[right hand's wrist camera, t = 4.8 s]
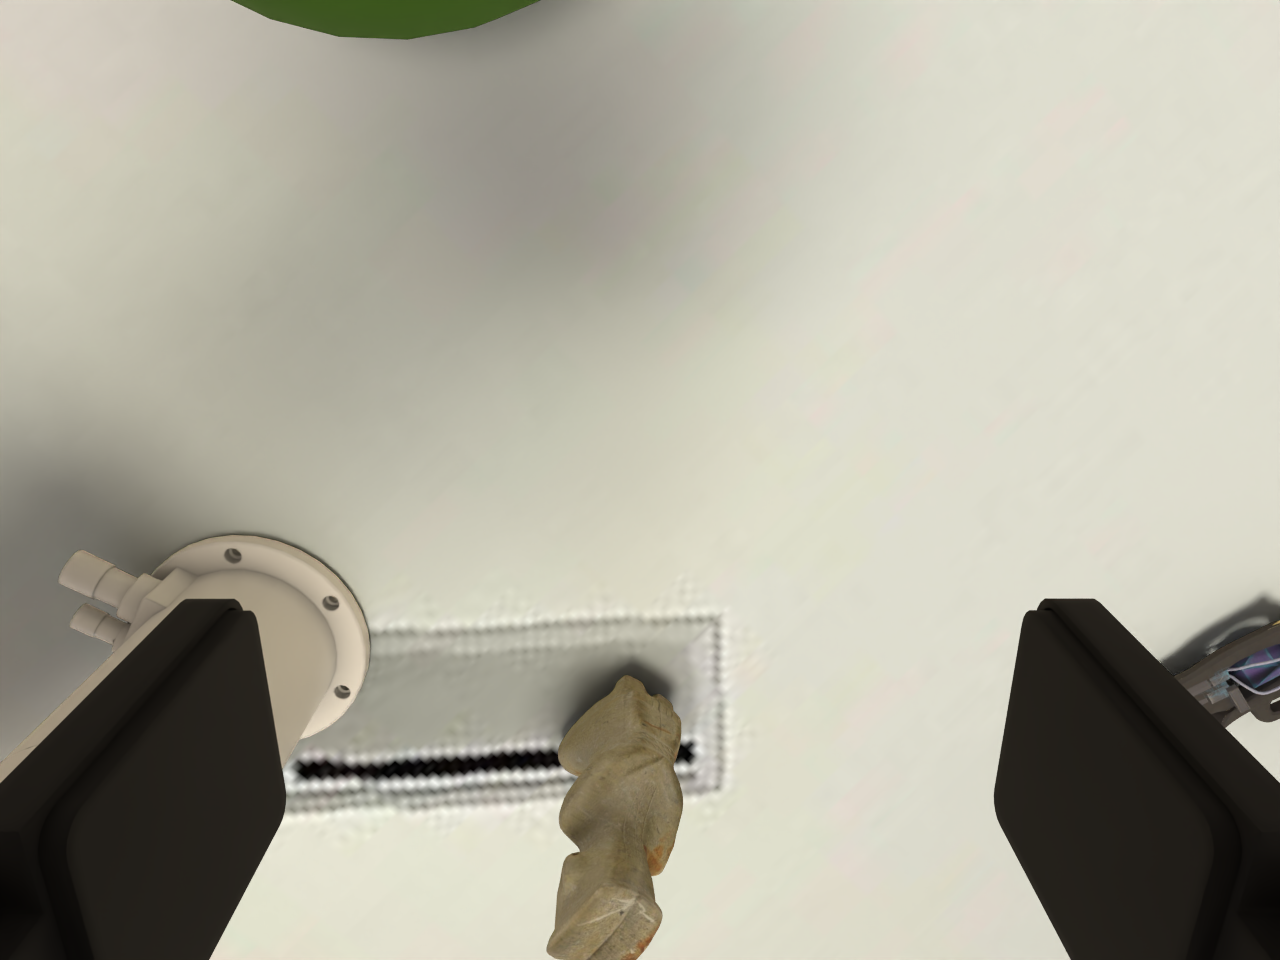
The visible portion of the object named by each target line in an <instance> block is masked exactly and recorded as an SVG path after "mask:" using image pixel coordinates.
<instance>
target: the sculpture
mask: <svg viewBox="0 0 1280 960" xmlns="http://www.w3.org/2000/svg"><path fill="white" fill-rule="evenodd" d="M680 740H681V720H680V718H679V716H678V715H677V714H676V713H675V712H674V711H673V706H672V704H671V703H670V702H669V701H668V700H667V699H666V698H664V697H663V696H662V695H660V694H655V695H653V696H650V695H649V694H648V693H647V692H646V690H645V687H644V685H643V683H642V682H640V681H639V680H637V679H635V678H633V677H631V676H629V675H625V676H623V677H622V678H621V679H620V680H618V681H617V683H616V685H615V688H614V690H613V691H612V692H611V693H610V694H609V695H608V696H606V697H605V698H603V699H601V700H600V701H598V702H597V703H596V704H594V705H593V706H592V707H591V708H590V709H589V710H588V711H587V712H586V713H585V714H584V715H583V716H582V717H581V718H580V719H579V720H578V721H577V722H576V723H575V724H574V725H573V726H572V727H571V729H570V730H569V731H568V733H567V734H566V736H565V737H564V739H563V740H562V742H561V744H560V746H559V750H558V757H559V761H560V763H561V765H562V766H563V768H564V769H565V770H566V771H568V772H570V773H571V774H574V775H576V776H578V779H577V780H576V781H575V783H574V784H573V785H572V787H571V788H570V790H569V791H568V793H567V795H566V797H565V798H564V801H563V804H562V807H561V810H560V814H559V824H560V828H561V829H562V831H563V832H564V834H565V835H566V836H568V837H569V838H570V839H571V840H572V841H573V842H574V843H575V844H576V845H577V846H578V848H579V849H580V852H576V853H572V854H570V855H568V856H567V857H566V859H565V861H564V863H563V867H562V873H561V879H560V884H559V888H558V893H557V905H556V917H555V930H554V932H553V933H552V935H551V937H550V939H549V942H548V945H547V953H548V954H549V955H551V956H552V957H554V958H555V959H560V960H636V959H637V958H638V957H639V956H640V955H641V954H642V953H643V952H644V950H645V949H646V948H647V946H648V945H649V943H650V942H651V940H652V938H653V937H654V935H655V933H656V931H657V930H658V928H659V926H660V923H661V920H662V911H661V909H660V908H659V906H658V905H657V903H656V902H655V894H654V888H653V882H652V878H651V876H656V875H659V874H660V873H661V872H662V871H663V869H664V867H665V865H666V863H667V861H668V858H669V856H670V853H671V851H672V849H673V847H674V843H675V838H676V833H677V830H678V826H679V822H680V818H681V814H682V809H683V796H682V791H681V787H680V783H679V781H678V778H677V776H676V773H675V771H674V768H673V766H674V762H675V760H676V757H677V754H678V750H679V746H680Z"/></svg>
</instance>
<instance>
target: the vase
mask: <svg viewBox="0 0 1280 960" xmlns="http://www.w3.org/2000/svg"><path fill="white" fill-rule="evenodd" d="M232 1H234V2H236V3H238V4H240V5H242V6H244V7H246V8H248V9H251V10H253V11H255V12H257V13H259V14H261V15H263V16H265V17H267V18H269V19H272V20H276V21H280V22H284V23H288V24H292V25H296V26H300V27H303V28H307V29H311V30H315V31H319V32H323V33H327V34H331V35H334V36H338V37H360V38H385V39H413V38H418V37H424V36H429V35H435V34H441V33H446V32H452V31H457V30H463V29H468V28H474V27H477V26H479V25H482V24H485V23H487V22H490V21H492V20H495V19H498V18H500V17H502V16H505V15H507V14H509V13H512V12H514V11H516V10H519V9H521V8H524V7H526V6H528V5H531V4H533V3H535V2H538V1H540V0H232Z"/></svg>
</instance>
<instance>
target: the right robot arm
mask: <svg viewBox="0 0 1280 960" xmlns="http://www.w3.org/2000/svg"><path fill="white" fill-rule="evenodd" d="M237 550H238V551H239V552H238V551H237ZM58 583H60V584H62V585H64V586H66V587H68V588H70V589H73V590H75V591H77V592H79V593H81V594H83V595H86V596H88V597H90V598H92V599H95V598H96V599H98V600H101V601H103V602H105V603H107V604H109V605H111V606H114V607H116V608H118V610H117V614H116V615H117V617H119V618H121V619H123V620H125V621H127V622H128V623H125V622H123V621H120V620H118V619H116V618H114V617H112V616H110V615H109V614H108V613H106V612H104V611H102V610H100V609H97V608H95V607H93V606H91V605H89V604H87V603H85V604H83V605H82V606H81V607H80V608H79V609H78V610H77V612H76V613H75V614H74V616H73V618H72V620H71V622H70V625H69V626H70V627H71V628H73V629H75V630H78V631H80V632H82V633H84V634H86V635H89V636H91V637H93V638H95V637H96V638H98V639H101V640H103V641H105V642H107V643H109V644H112V645H113V646H112V652H114V653H113V654H112V655H111V656H110V657H109V658H108V659H107V660H106V661H105V662H104V663H103V664H102V665H101V666H100V667H99V668H98V669H97V670H96V671H95V672H94V673H93V674H92V675H91V676H90V677H89V678H88V679H86V680H85V681H84V682H83V683H82V684H81V685H80V686H79V687H78V688H77V689H76V690H75V691H74V692H73V693H72V694H71V695H70V696H69V697H68V698H67V699H66V700H65V701H64V702H63V703H62V704H61V705H60V706H59V707H58V708H57V709H56V710H55V711H54V712H53V713H52V714H51V715H49V716H48V717H47V718H46V719H45V720H44V721H43V722H42V723H41V724H40V725H39V726H38V727H37V728H36V729H35V730H34V731H33V732H32V733H31V734H30V735H29V736H28V737H27V738H26V739H25V740H24V741H23V742H22V743H21V744H20V745H19V746H18V747H17V748H16V749H15V750H14V751H13V752H11V753H10V754H9V755H8V756H7V757H6V758H5V759H4V760H3V761H2V762H1V763H0V960H209V959H210V957H211V955H212V953H213V951H214V949H215V947H216V946H217V944H218V942H219V940H220V938H221V936H222V934H223V932H224V930H225V928H226V927H227V925H228V923H229V921H230V919H231V917H232V915H233V913H234V911H235V909H236V908H237V906H238V904H239V902H240V900H241V898H242V896H243V894H244V892H245V890H246V889H247V887H248V885H249V883H250V881H251V879H252V877H253V875H254V873H255V871H256V870H257V868H258V866H259V864H260V862H261V860H262V858H263V856H264V854H265V852H266V851H267V849H268V847H269V845H270V843H271V841H272V839H273V837H274V835H275V833H276V832H277V830H278V828H279V826H280V824H281V821H282V819H283V815H284V812H285V805H286V789H285V783H284V777H283V771H282V769H283V767H284V766H285V764H286V762H287V760H288V759H289V757H290V755H291V753H292V752H293V750H294V748H295V746H296V745H297V743H298V741H299V740H300V739H303V738H306V737H310V736H312V735H314V734H316V733H318V732H320V731H322V730H324V729H325V728H327V727H329V726H330V725H331V724H332V723H334V722H335V721H336V720H337V719H339V718H340V717H341V716H342V715H343V714H344V713H345V712H346V710H347V709H348V708H349V707H350V705H351V704H352V703H353V702H354V700H355V698H356V696H357V694H358V692H359V691H360V689H361V687H362V685H363V682H364V679H365V676H366V673H367V670H368V666H369V657H370V643H369V634H368V629H367V626H366V623H365V620H364V617H363V614H362V611H361V609H360V608H359V606H358V604H357V602H356V601H355V599H354V597H353V595H352V594H351V592H350V591H349V590H348V589H347V587H346V586H345V585H344V584H343V583H342V581H341V580H340V579H339V578H338V577H337V576H336V575H335V574H334V573H333V572H331V571H330V570H329V569H328V568H327V567H326V566H324V565H323V564H322V563H321V562H320V561H318V560H316V559H315V558H313V557H311V556H310V555H308V554H306V553H305V552H303V551H301V550H299V549H297V548H294V547H292V546H289V545H287V544H284V543H282V542H279V541H276V540H271V539H266V538H262V537H257V536H244V535H228V536H220V537H213V538H208V539H205V540H202V541H199V542H196V543H193V544H190V545H188V546H186V547H185V548H183V549H181V550H180V551H178V552H176V553H174V554H173V555H171V556H170V557H169V558H168V559H167V560H166V561H164V562H163V563H162V564H161V565H160V566H158V567H157V568H156V569H155V571H154V572H153V573H152V574H151V575H148V574H145V573H144V574H142V575H141V576H139V577H138V578H137V577H134V576H132V575H130V574H128V573H126V572H124V571H122V570H120V569H117V568H116V565H113V564H111V563H109V562H107V561H105V560H103V559H101V558H99V557H96V556H94V555H92V554H90V553H88V552H86V551H84V550H79V551H77V552H76V553H75V554H73V556H72V557H71V558H70V559H69V560H68V561H67V563H66V564H65V566H64V567H63V569H62V571H61V573H60V575H59V578H58ZM332 596H333V597H335V598H336V599H335V598H333V597H332ZM994 805H995V812H996V815H997V819H998V821H999V824H1000V826H1001V828H1002V830H1003V832H1004V833H1005V835H1006V837H1007V839H1008V841H1009V843H1010V845H1011V847H1012V849H1013V851H1014V852H1015V854H1016V856H1017V858H1018V860H1019V862H1020V864H1021V866H1022V868H1023V870H1024V871H1025V873H1026V875H1027V877H1028V879H1029V881H1030V883H1031V885H1032V887H1033V889H1034V890H1035V892H1036V894H1037V896H1038V898H1039V900H1040V902H1041V904H1042V906H1043V908H1044V909H1045V911H1046V913H1047V915H1048V917H1049V919H1050V921H1051V923H1052V925H1053V927H1054V928H1055V930H1056V932H1057V934H1058V936H1059V938H1060V940H1061V942H1062V944H1063V946H1064V947H1065V949H1066V951H1067V953H1068V955H1069V957H1070V959H1071V960H1280V783H1279V782H1278V781H1277V780H1276V779H1275V778H1274V777H1273V776H1272V775H1271V774H1270V773H1269V772H1268V771H1267V770H1266V769H1265V768H1264V767H1263V766H1262V765H1261V764H1260V763H1259V762H1258V761H1257V760H1256V759H1255V758H1254V757H1253V756H1252V755H1251V754H1250V753H1249V752H1248V751H1247V750H1246V749H1245V748H1244V747H1243V746H1242V745H1241V744H1240V743H1239V742H1238V741H1237V740H1236V739H1235V738H1234V737H1233V736H1232V735H1231V734H1230V733H1229V732H1228V731H1227V730H1226V729H1225V728H1224V727H1223V726H1222V725H1221V724H1220V723H1219V722H1218V721H1217V720H1216V719H1215V718H1214V717H1213V716H1212V715H1211V714H1210V713H1209V712H1208V711H1207V710H1206V709H1205V708H1204V707H1203V706H1202V705H1201V704H1200V703H1199V702H1198V701H1197V700H1196V699H1195V698H1194V697H1193V696H1192V695H1191V694H1190V692H1189V691H1188V690H1187V689H1186V688H1185V687H1184V686H1183V685H1182V684H1181V683H1180V682H1179V681H1178V680H1177V679H1176V678H1175V677H1174V676H1173V675H1172V674H1171V673H1170V672H1169V671H1168V670H1167V669H1166V668H1165V667H1164V666H1163V665H1162V664H1161V663H1160V662H1159V661H1158V660H1157V659H1156V658H1155V657H1154V656H1153V655H1152V654H1151V653H1150V652H1149V651H1148V650H1147V649H1146V648H1145V647H1144V646H1143V645H1142V644H1141V643H1140V642H1139V641H1138V640H1137V639H1136V638H1135V637H1134V636H1133V635H1132V634H1131V633H1130V632H1129V631H1128V630H1127V629H1126V628H1125V627H1124V626H1123V625H1122V624H1121V623H1120V622H1119V621H1118V620H1117V619H1116V618H1115V617H1114V616H1113V615H1112V614H1111V613H1110V612H1109V611H1108V610H1107V609H1106V608H1105V607H1104V606H1103V605H1102V604H1101V603H1100V602H1098V601H1097V600H1095V599H1044V600H1043V601H1042V602H1041V603H1040V604H1039V606H1038V608H1037V610H1029V611H1028V612H1027V613H1026V614H1025V616H1024V618H1023V622H1022V627H1021V633H1020V639H1019V645H1018V651H1017V657H1016V663H1015V669H1014V675H1013V681H1012V687H1011V693H1010V699H1009V705H1008V711H1007V717H1006V723H1005V729H1004V735H1003V741H1002V747H1001V753H1000V759H999V765H998V771H997V777H996V783H995V789H994Z"/></svg>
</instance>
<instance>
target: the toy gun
mask: <svg viewBox="0 0 1280 960" xmlns="http://www.w3.org/2000/svg"><path fill="white" fill-rule="evenodd" d="M1174 677H1175V678H1176V679H1177V680H1178V681H1179V682H1180V683H1181V684H1182V685H1183V686H1184V687H1185V688H1186V689H1187V690H1188V691H1189V692H1190V694H1191V695H1192V696H1193V697H1194V698H1195V699H1196V700H1197V701H1198V702H1199V703H1200V704H1201V705H1202V706H1203V707H1204V708H1205V709H1206V710H1207V711H1208V712H1209V713H1210V714H1211V715H1212V716H1213V717H1214V718H1215V719H1216V720H1217V721H1218V722H1219V723H1220V724H1221V725H1222V726H1223V727H1224V728H1226V727H1227V726H1228V725H1229V724H1231V723H1232V722H1233V721H1235V720H1236V719H1238V718H1239V717H1241V716H1243V715H1244V714H1246V713H1248V712H1250V711H1251V713H1252V714H1253V715H1254V716H1255V717H1256V718H1257V719H1258V720H1260V721H1263V722H1272V721H1275V720H1278V719H1280V700H1279V701H1277V702H1274V703H1272V704H1271V701H1272V700H1274V699H1276V698H1278V697H1280V620H1279V621H1275V622H1273V623H1270V624H1268V625H1266V626H1263V627H1261V628H1259V629H1257V630H1255V631H1253V632H1251V633H1249V634H1247V635H1245V636H1243V637H1241V638H1239V639H1237V640H1235V641H1233V642H1231V643H1229V644H1227V645H1225V646H1223V647H1222V648H1220V649H1218V650H1216V651H1215V652H1213V653H1211V654H1210V655H1208V656H1207V657H1205V658H1204V659H1202V660H1201V661H1199V662H1198V663H1197V664H1195V665H1194V666H1192V667H1191V668H1189V669H1188V670H1186V671H1184V672H1181V673H1179V674H1177V675H1175V676H1174ZM1233 682H1235V683H1238V684H1240V686H1239V687H1237V685H1236V684H1234V683H1233Z"/></svg>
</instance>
